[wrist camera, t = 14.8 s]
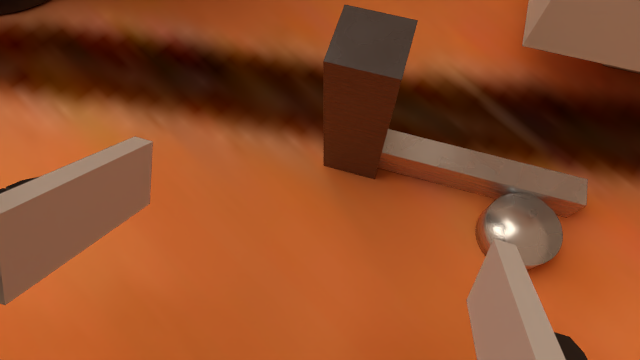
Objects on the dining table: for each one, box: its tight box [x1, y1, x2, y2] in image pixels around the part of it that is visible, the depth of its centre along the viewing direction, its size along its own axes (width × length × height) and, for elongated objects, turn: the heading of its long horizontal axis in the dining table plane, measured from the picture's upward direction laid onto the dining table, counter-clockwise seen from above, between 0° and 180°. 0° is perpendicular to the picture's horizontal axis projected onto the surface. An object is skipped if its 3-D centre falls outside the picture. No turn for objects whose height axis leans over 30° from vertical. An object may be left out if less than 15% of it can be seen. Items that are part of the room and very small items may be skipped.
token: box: [476, 193, 563, 270], centre depth 29 cm, size 5×5×2 cm
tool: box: [324, 5, 588, 218], centre depth 26 cm, size 18×4×12 cm, turn 73°
